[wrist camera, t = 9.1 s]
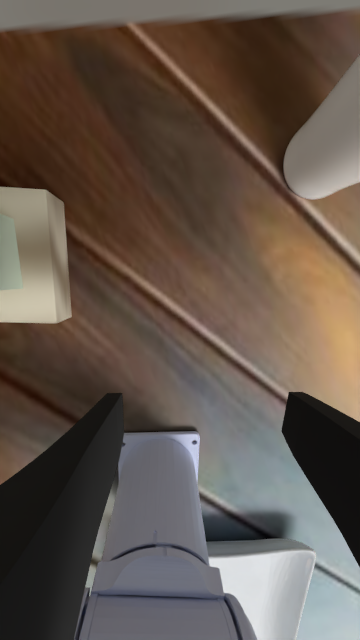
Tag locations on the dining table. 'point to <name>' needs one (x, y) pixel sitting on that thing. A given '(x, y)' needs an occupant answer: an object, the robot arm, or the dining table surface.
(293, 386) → the dining table surface
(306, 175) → the drinking glass
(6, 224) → the sage block
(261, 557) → the salad plate
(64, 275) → the birch base
